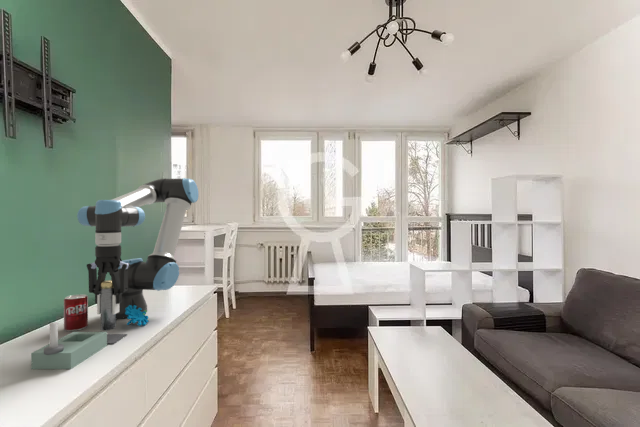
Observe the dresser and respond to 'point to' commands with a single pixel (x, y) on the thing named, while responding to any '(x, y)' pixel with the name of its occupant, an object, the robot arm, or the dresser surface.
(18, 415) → the dresser surface
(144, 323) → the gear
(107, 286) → the silver tall can
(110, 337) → the mat
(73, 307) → the soda can
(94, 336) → the fixture block
